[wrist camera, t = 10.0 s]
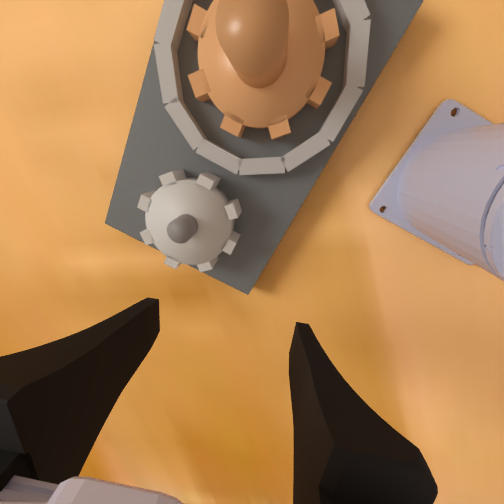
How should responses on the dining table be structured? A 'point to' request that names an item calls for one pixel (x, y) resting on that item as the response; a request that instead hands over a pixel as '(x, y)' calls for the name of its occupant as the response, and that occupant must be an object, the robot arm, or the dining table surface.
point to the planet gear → (261, 60)
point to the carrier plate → (237, 147)
